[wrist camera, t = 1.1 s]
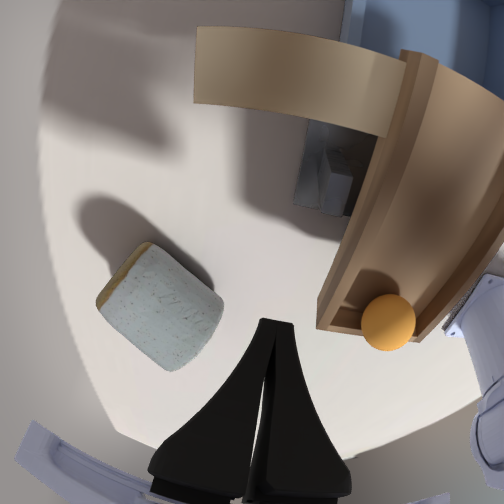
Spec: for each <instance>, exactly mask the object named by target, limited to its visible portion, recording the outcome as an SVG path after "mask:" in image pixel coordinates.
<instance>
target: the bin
mask: <svg viewBox="0 0 504 504" xmlns="http://www.w3.org/2000/svg"><path fill="white" fill-rule="evenodd" d="M339 42H342V43H346V44H350V45H354V46H358V47H361V48H364V49H368V50H371V51H374V52H377V53H380V54H383V55H386V56H389V57H392V58H395V59H399V55H400V50H401V49H405V50H411V51H416V52H421V53H424V54H426V55H429V56H431V57H433V58H435V59H437V60H439V64H442V65H444V66H446V67H448V68H450V69H452V70H453V71H455V72H457V73H459V74H461V75H463V76H465V77H466V78H468V79H470V80H472V81H473V82H475V83H477V84H478V85H480V86H482V87H483V88H485V89H487V90H488V91H490V92H491V93H493V94H494V95H496V96H497V97H499V98H500V99H502V100H503V101H504V0H345V5H344V13H343V20H342V27H341V33H340V40H339Z"/></svg>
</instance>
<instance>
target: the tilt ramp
mask: <svg viewBox="0 0 504 504" xmlns="http://www.w3.org/2000/svg"><path fill="white" fill-rule="evenodd" d="M194 103H197V104H211V105H223V106H232V107H241V108H249V109H257V110H264V111H270V112H277V113H283V114H288V115H294V116H299V117H304V118H309V119H314V120H318V121H323V122H327V123H332V124H336V125H340V126H344V127H348V128H351V129H355V130H359V131H362V132H366V133H369V134H373V135H376V136H378V139H377V142H376V145H375V149H374V152H373V155H372V158H371V161H370V164H369V167H368V170H367V173H366V176H365V179H364V182H363V185H362V188H361V191H360V194H359V196H358V199H357V202H356V205H355V207H354V210H353V213H352V216H351V218H350V221H349V223H348V226H347V229H346V231H345V234H344V236H343V239H342V241H341V244H340V246H339V249H338V251H337V254H336V256H335V259H334V261H333V264H332V266H331V268H330V271H329V273H328V275H327V278H326V280H325V282H324V285H323V287H322V289H321V291H320V294H319V296H318V298H317V318H316V329H319V330H325V331H331V332H338V333H344V334H351V335H358V336H364V335H363V333H362V328H361V320H362V316H363V313H364V311H365V309H366V307H367V306H368V304H369V303H370V302H371V301H373V300H374V299H375V298H377V297H379V296H382V295H386V294H395V295H398V296H401V297H403V298H404V299H406V300H407V301H408V302H409V303H410V305H411V306H412V308H413V310H414V313H415V318H416V324H415V329H414V332H413V334H412V336H411V338H410V339H409V340H408V342H418V343H420V342H421V341H422V340H423V339H424V338H425V337H426V336H427V335H428V334H429V333H430V332H431V331H432V330H433V329H434V328H435V327H436V326H437V325H438V324H439V323H440V322H441V320H442V319H443V318H444V317H445V316H446V315H447V314H448V313H449V312H450V311H451V310H452V308H453V307H454V306H455V305H456V304H457V303H458V302H459V300H460V299H461V298H462V297H463V296H464V295H465V293H466V292H467V291H468V290H469V288H470V287H471V286H472V285H473V284H474V282H475V281H476V280H477V278H478V277H479V276H480V275H481V273H482V272H483V271H484V269H485V268H486V267H487V265H488V264H489V262H490V261H491V260H492V258H493V257H494V255H495V254H496V253H497V251H498V250H499V248H500V247H501V245H502V244H503V242H504V101H503V100H502V99H500V98H499V97H497V96H496V95H494V94H493V93H491V92H490V91H488V90H487V89H485V88H483V87H482V86H480V85H478V84H477V83H475V82H473V81H472V80H470V79H468V78H466V77H465V76H463V75H461V74H459V73H457V72H455V71H453V70H452V69H450V68H448V67H446V66H444V65H442V64H439V60H437V59H435V58H433V57H431V56H429V55H426V54H424V53H421V52H416V51H411V50H405V49H401V50H400V55H399V59H395V58H392V57H389V56H386V55H383V54H380V53H377V52H374V51H371V50H368V49H364V48H361V47H358V46H354V45H350V44H346V43H342V42H338V41H334V40H330V39H325V38H320V37H316V36H310V35H305V34H299V33H293V32H286V31H278V30H269V29H259V28H247V27H225V26H197V34H196V51H195V71H194Z"/></svg>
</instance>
